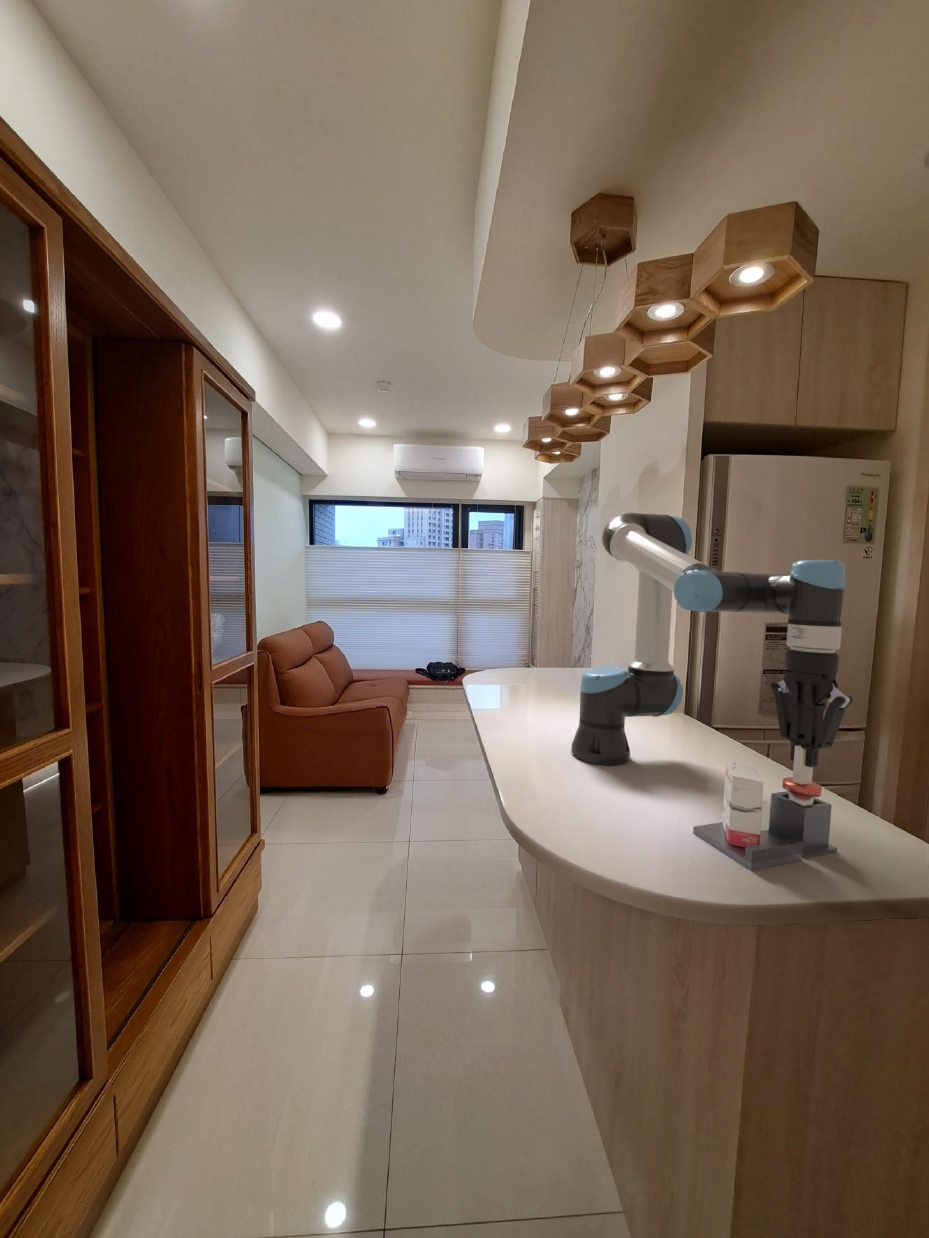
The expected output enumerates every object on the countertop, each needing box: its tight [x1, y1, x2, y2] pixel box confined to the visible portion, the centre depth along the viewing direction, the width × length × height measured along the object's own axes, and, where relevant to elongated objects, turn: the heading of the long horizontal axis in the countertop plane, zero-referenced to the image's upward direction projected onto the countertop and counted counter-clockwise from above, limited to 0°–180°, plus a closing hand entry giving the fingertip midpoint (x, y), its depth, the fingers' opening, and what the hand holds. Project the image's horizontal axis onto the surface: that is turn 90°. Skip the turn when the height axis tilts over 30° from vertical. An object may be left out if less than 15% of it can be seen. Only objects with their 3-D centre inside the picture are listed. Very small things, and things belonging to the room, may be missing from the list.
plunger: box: [782, 776, 823, 806], centre depth 83 cm, size 6×6×9 cm
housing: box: [761, 790, 838, 859], centre depth 83 cm, size 8×8×8 cm
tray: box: [692, 821, 803, 871], centre depth 82 cm, size 12×11×3 cm
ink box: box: [721, 761, 764, 847], centre depth 83 cm, size 9×5×12 cm, turn 157°
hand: (802, 782), depth 83 cm, fingers closed
